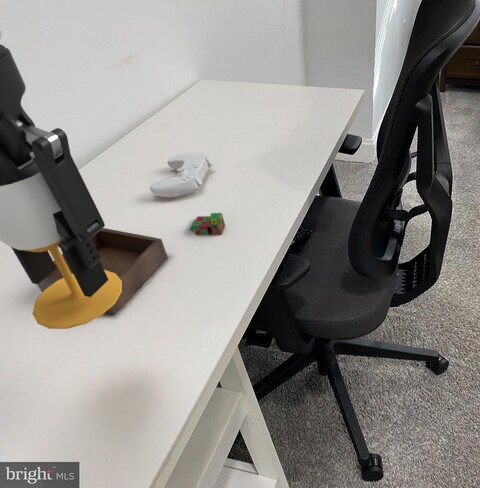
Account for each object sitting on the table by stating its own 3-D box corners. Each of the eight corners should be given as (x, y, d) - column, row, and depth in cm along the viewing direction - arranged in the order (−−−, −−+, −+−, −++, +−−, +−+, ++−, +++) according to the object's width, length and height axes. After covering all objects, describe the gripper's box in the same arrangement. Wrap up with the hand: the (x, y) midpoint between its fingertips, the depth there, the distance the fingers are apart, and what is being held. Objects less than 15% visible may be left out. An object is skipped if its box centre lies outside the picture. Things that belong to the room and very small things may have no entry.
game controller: (168, 152, 104) (210, 142, 102) (177, 170, 107) (218, 160, 104) (143, 188, 93) (189, 177, 91) (154, 206, 95) (199, 196, 93)
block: (226, 221, 88) (223, 205, 86) (221, 234, 85) (217, 218, 83) (195, 221, 88) (190, 205, 86) (188, 234, 85) (183, 219, 83)
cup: (139, 275, 54) (86, 144, 44) (87, 336, 47) (12, 196, 37) (71, 266, 56) (7, 139, 46) (13, 322, 49) (-77, 187, 40)
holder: (114, 315, 71) (105, 295, 68) (44, 297, 75) (33, 277, 72) (168, 257, 81) (161, 238, 78) (103, 244, 85) (95, 226, 82)
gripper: (87, 42, 36) (168, 275, 50) (-87, 35, 42) (29, 245, 56) (3, 76, 30) (121, 326, 44) (-184, 63, 36) (-28, 288, 50)
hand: (70, 281), depth 50 cm, fingers closed on cup, 6 cm apart
